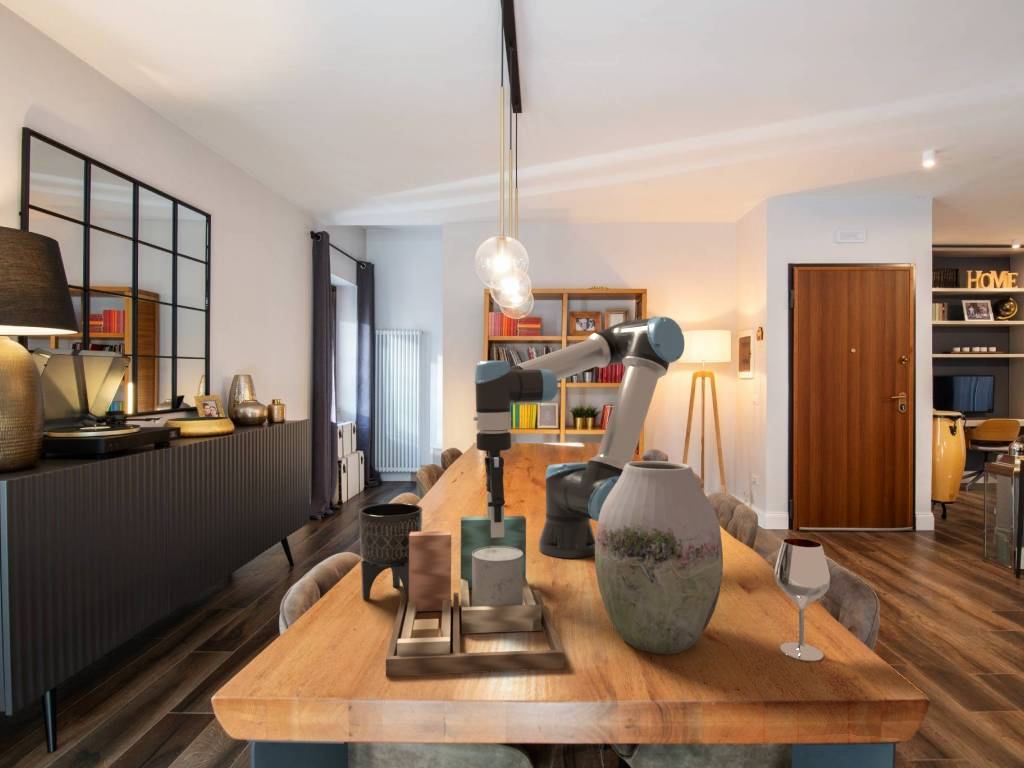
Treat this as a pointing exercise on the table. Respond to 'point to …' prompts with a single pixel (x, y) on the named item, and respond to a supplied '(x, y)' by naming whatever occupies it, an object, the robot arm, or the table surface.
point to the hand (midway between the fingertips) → (495, 528)
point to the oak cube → (425, 628)
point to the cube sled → (428, 591)
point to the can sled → (473, 618)
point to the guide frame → (473, 660)
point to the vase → (658, 556)
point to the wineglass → (802, 586)
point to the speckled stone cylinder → (496, 576)
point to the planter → (387, 542)
